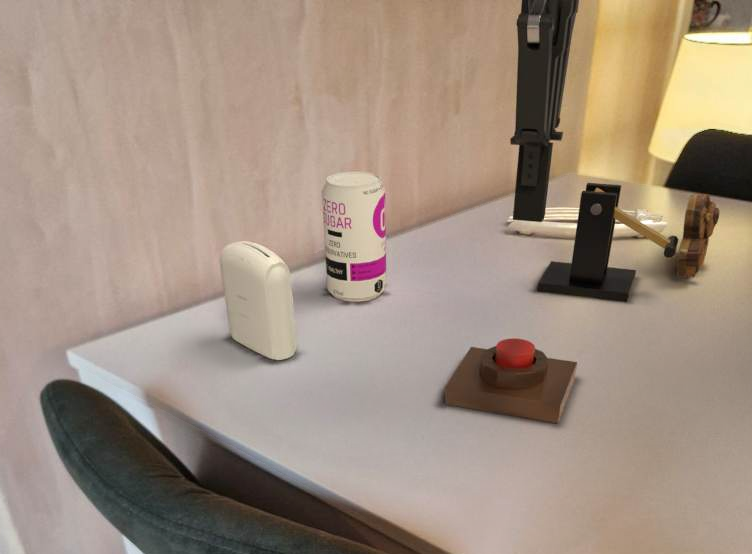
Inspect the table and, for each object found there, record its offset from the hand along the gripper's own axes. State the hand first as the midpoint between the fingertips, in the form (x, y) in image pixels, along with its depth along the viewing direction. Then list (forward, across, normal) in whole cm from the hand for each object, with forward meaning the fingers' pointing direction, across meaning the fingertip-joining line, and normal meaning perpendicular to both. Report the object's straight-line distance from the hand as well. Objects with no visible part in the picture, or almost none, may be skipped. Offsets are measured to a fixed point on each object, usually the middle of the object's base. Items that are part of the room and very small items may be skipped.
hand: (528, 218), depth 72 cm
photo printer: (+19, -1, -31) cm, 36 cm away
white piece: (+19, -58, -1) cm, 61 cm away
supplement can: (+19, -21, -27) cm, 39 cm away
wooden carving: (+19, -45, +16) cm, 51 cm away
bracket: (+18, -34, +3) cm, 39 cm away
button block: (+18, 0, 0) cm, 18 cm away
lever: (+11, -34, +7) cm, 36 cm away
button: (+15, 0, 0) cm, 15 cm away
